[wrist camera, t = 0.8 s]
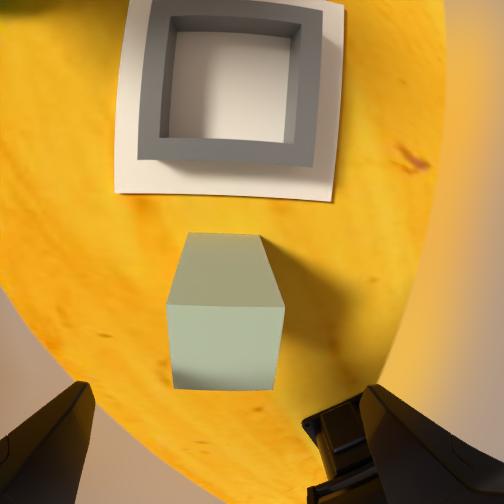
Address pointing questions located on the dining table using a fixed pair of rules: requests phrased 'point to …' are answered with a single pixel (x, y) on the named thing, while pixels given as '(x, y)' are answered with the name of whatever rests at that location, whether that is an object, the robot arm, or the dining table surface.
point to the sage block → (224, 315)
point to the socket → (229, 98)
